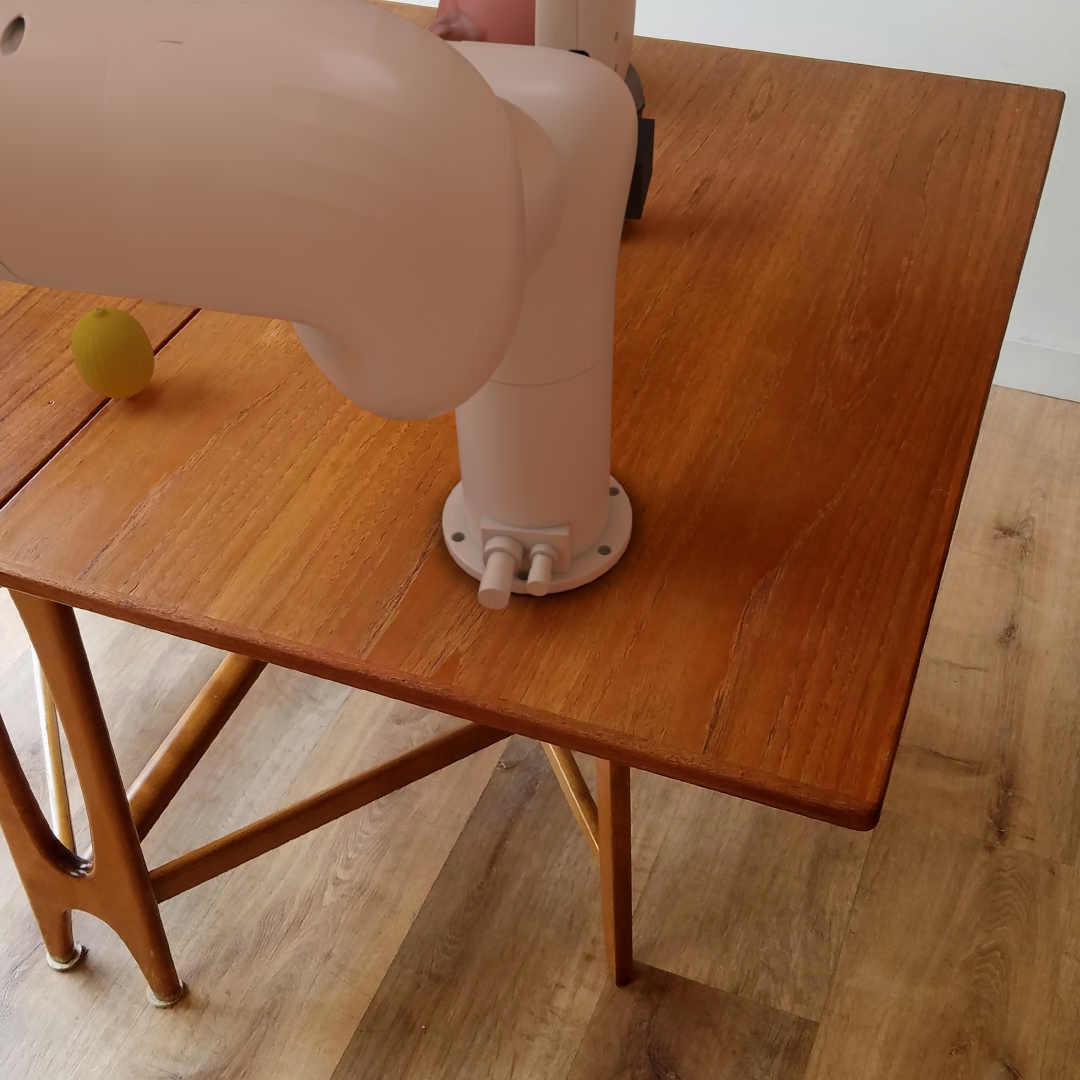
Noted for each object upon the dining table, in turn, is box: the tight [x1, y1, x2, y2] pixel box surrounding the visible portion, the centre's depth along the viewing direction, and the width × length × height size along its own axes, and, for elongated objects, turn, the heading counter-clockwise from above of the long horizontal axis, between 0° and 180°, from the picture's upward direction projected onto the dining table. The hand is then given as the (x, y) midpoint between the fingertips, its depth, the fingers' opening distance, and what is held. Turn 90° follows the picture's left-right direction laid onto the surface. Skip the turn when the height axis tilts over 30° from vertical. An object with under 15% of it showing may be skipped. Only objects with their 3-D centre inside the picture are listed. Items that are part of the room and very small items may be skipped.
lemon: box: [71, 306, 155, 400], centre depth 85 cm, size 6×6×8 cm
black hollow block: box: [624, 117, 656, 221], centre depth 76 cm, size 6×8×4 cm
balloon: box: [427, 0, 536, 46], centre depth 114 cm, size 15×20×15 cm
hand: (590, 183), depth 77 cm, fingers closed on black hollow block, 6 cm apart
